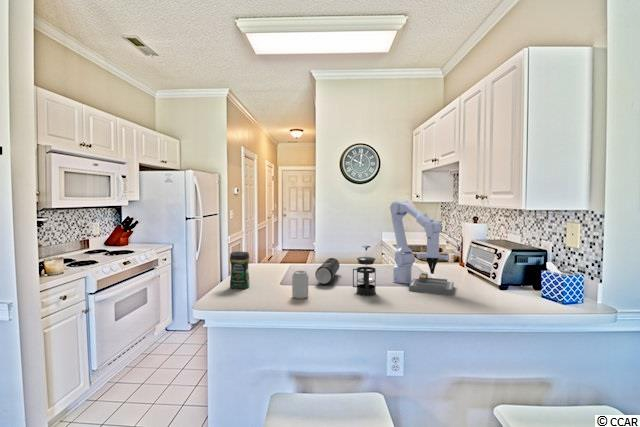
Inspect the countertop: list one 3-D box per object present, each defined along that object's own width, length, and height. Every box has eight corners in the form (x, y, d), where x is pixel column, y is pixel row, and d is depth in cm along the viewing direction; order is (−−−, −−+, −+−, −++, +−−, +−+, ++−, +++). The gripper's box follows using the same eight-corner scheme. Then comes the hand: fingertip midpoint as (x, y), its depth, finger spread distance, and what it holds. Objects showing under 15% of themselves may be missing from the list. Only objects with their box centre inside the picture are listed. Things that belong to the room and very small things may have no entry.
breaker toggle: (419, 284, 176) (419, 276, 175) (419, 283, 178) (420, 274, 178) (425, 285, 174) (425, 276, 174) (426, 283, 177) (426, 275, 177)
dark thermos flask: (340, 274, 209) (340, 257, 209) (332, 287, 182) (332, 267, 181) (324, 274, 211) (324, 257, 210) (314, 286, 184) (314, 266, 183)
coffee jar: (227, 289, 178) (227, 252, 177) (233, 285, 186) (233, 250, 185) (246, 289, 176) (245, 253, 175) (251, 285, 184) (251, 250, 183)
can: (310, 295, 167) (310, 270, 166) (304, 300, 160) (304, 274, 159) (296, 294, 169) (295, 269, 168) (289, 298, 162) (289, 272, 161)
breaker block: (408, 290, 174) (409, 276, 174) (413, 283, 189) (413, 270, 189) (452, 295, 167) (452, 280, 166) (453, 286, 181) (453, 273, 181)
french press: (376, 290, 175) (376, 244, 174) (378, 295, 166) (378, 247, 164) (352, 290, 176) (352, 244, 174) (353, 295, 166) (353, 247, 165)
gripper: (416, 246, 173) (416, 273, 174) (448, 248, 167) (447, 276, 168) (418, 244, 179) (418, 270, 180) (448, 246, 173) (448, 273, 174)
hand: (432, 273), depth 174 cm, fingers closed
